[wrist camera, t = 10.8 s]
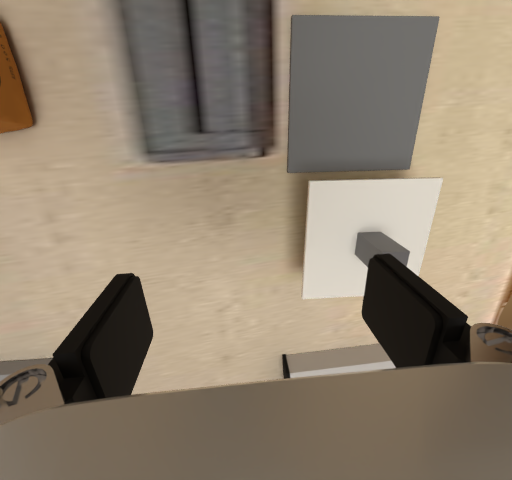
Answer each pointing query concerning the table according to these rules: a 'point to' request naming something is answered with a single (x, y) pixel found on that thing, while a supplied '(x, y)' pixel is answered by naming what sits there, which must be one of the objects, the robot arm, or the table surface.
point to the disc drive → (336, 361)
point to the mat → (356, 90)
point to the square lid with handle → (363, 230)
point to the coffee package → (11, 92)
